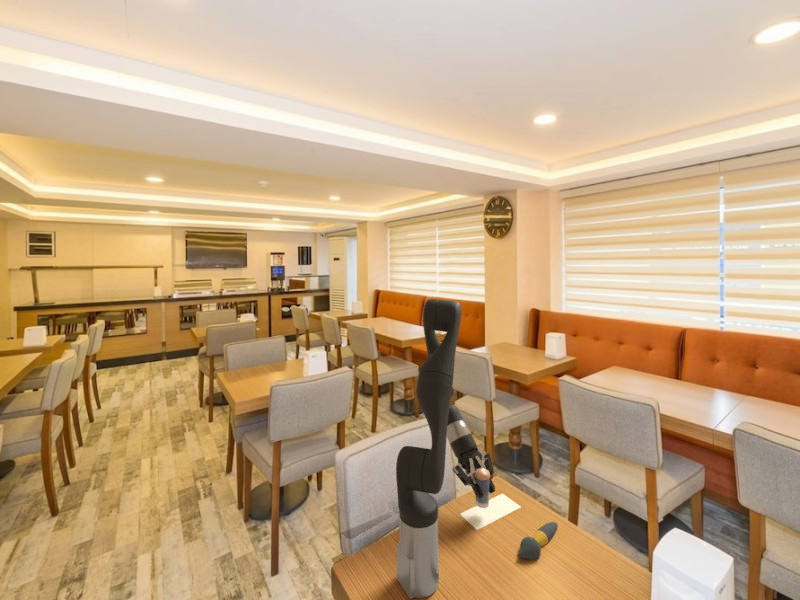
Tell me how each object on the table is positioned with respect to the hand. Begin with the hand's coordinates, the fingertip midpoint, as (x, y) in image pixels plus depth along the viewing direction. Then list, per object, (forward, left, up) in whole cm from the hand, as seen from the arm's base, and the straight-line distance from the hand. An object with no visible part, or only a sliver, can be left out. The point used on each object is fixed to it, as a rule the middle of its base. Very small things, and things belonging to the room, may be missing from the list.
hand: (487, 494), depth 104 cm
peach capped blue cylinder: (0, +2, -4) cm, 4 cm away
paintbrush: (+6, -13, -9) cm, 17 cm away
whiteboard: (+3, +2, -9) cm, 9 cm away
